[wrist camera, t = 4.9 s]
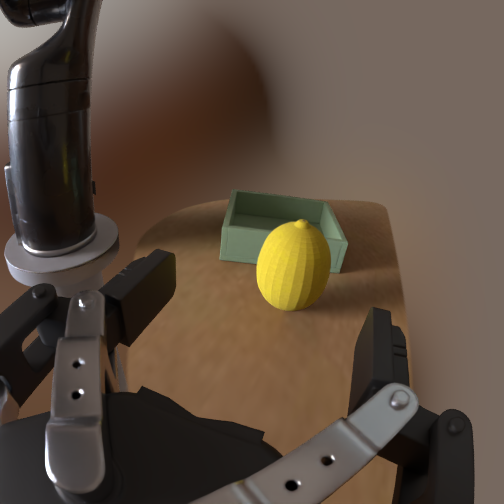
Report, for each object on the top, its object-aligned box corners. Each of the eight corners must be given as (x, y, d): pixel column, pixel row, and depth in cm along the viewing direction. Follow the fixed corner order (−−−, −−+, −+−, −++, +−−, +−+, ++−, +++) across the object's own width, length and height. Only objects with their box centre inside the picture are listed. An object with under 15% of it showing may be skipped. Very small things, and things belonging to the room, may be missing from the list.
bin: (219, 260, 31) (222, 227, 30) (230, 215, 41) (232, 189, 39) (339, 273, 32) (348, 242, 30) (322, 226, 41) (327, 201, 40)
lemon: (300, 342, 23) (327, 248, 19) (238, 311, 25) (249, 219, 21) (326, 304, 27) (350, 221, 23) (271, 281, 29) (285, 199, 25)
